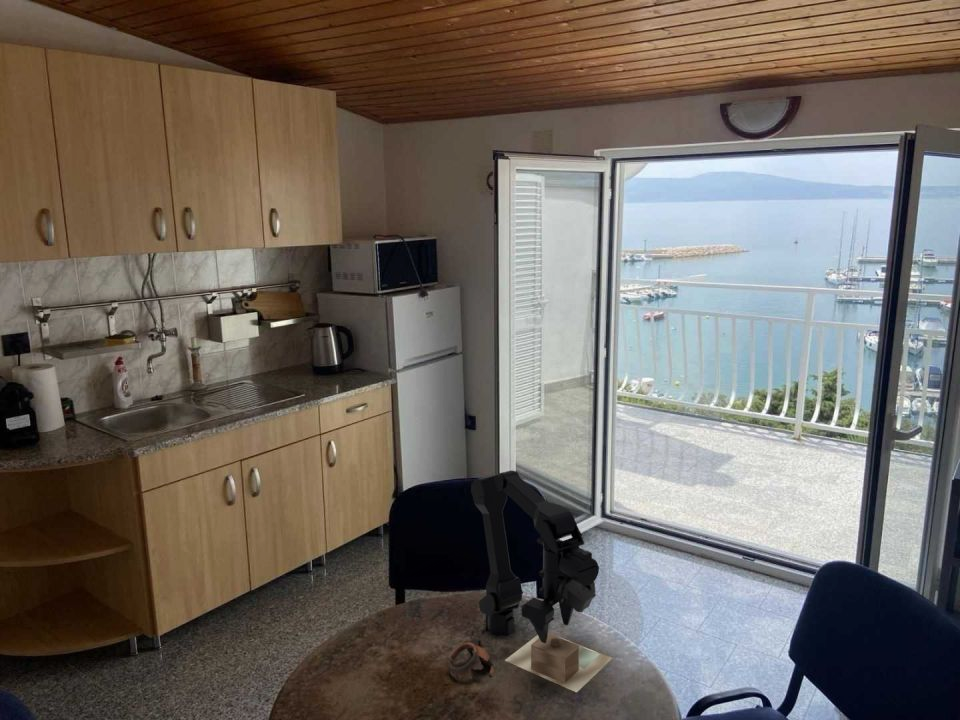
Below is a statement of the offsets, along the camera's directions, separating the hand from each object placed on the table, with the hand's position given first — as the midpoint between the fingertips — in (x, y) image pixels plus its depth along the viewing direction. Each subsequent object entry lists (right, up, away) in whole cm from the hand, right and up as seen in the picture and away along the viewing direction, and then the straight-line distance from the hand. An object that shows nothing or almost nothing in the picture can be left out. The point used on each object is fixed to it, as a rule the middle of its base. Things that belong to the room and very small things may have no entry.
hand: (555, 633), depth 156 cm
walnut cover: (0, -9, +1) cm, 9 cm away
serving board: (+1, -9, +5) cm, 11 cm away
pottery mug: (-18, -10, +2) cm, 21 cm away
